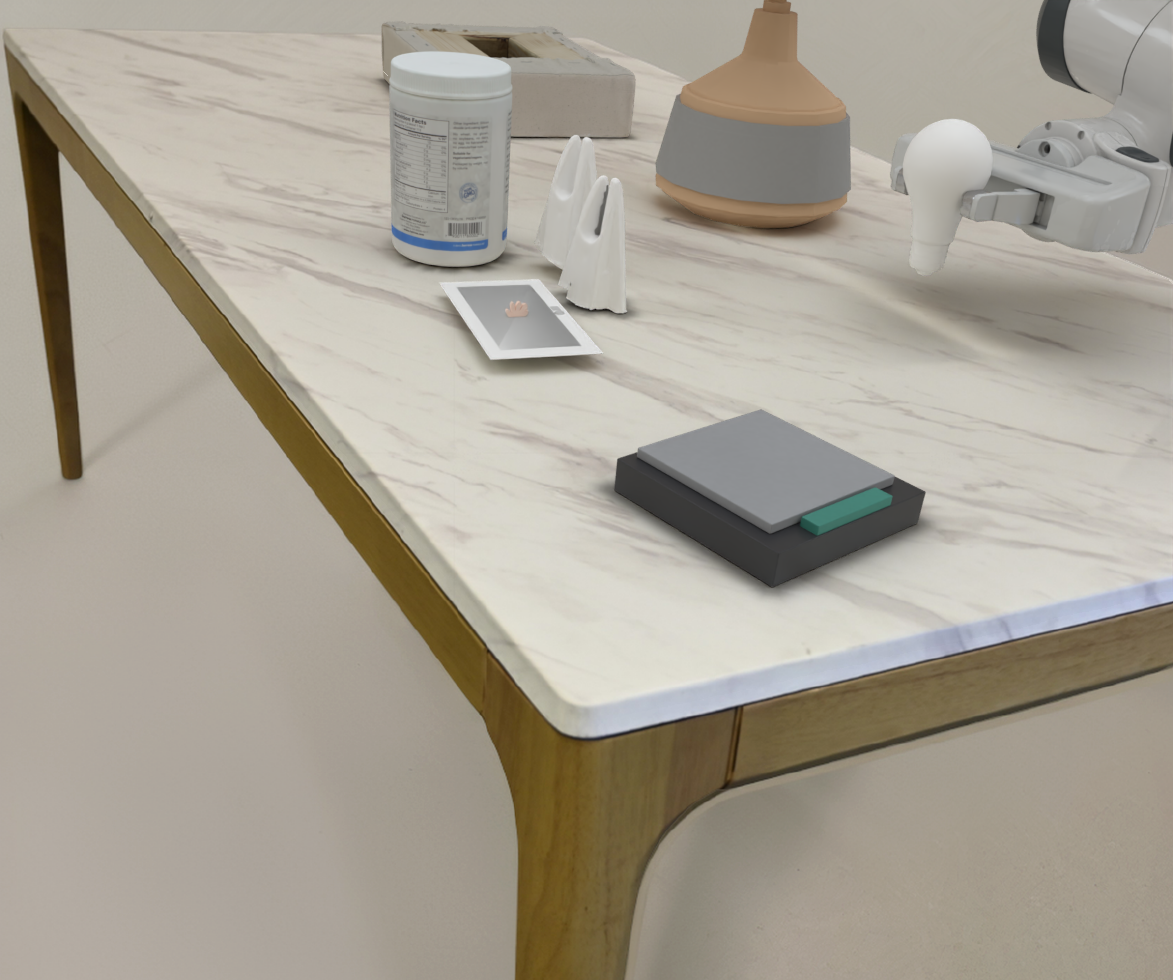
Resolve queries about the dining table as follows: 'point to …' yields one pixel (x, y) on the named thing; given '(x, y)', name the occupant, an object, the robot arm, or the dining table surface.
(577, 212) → the shaker set
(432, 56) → the supplement tub
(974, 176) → the lightbulb
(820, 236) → the dining table surface
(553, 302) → the touchpad
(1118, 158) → the robot arm
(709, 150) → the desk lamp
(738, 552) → the scale
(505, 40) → the box
